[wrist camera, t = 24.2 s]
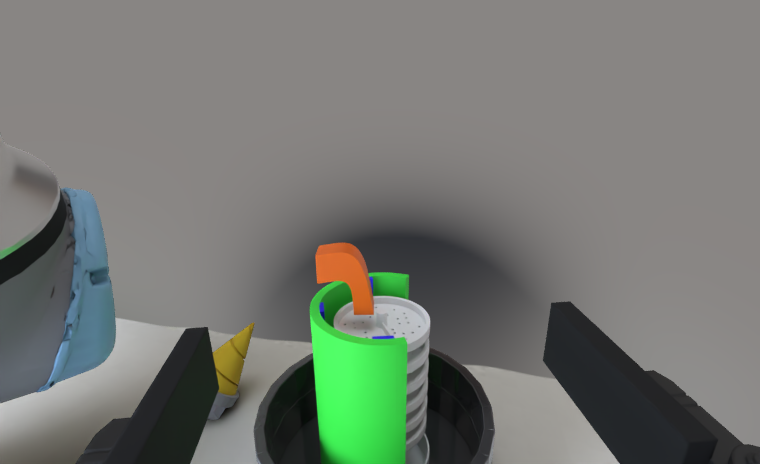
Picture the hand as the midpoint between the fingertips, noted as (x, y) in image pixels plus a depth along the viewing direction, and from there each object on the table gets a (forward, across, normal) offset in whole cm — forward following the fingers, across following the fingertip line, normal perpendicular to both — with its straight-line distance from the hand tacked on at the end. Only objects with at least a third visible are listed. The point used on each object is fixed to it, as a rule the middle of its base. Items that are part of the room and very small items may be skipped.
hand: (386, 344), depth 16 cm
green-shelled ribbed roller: (+10, 0, -18) cm, 20 cm away
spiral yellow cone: (+19, -14, -19) cm, 30 cm away
